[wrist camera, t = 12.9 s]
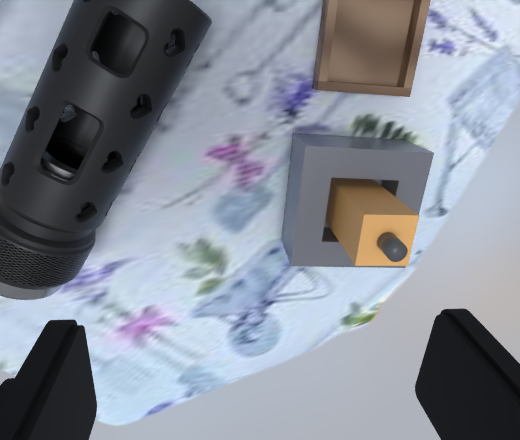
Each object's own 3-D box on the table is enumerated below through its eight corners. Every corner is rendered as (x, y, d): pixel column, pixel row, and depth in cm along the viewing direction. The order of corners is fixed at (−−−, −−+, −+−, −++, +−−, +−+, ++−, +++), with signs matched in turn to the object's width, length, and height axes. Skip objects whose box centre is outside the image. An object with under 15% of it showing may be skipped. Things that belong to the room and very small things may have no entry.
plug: (329, 177, 39) (373, 224, 28) (372, 178, 40) (432, 225, 29) (323, 218, 41) (363, 278, 30) (365, 219, 41) (419, 278, 30)
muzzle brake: (216, 27, 35) (216, 17, 26) (85, 263, 43) (48, 322, 33) (117, -43, 33) (76, -83, 23) (-4, 223, 40) (-71, 274, 31)
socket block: (293, 133, 40) (305, 145, 34) (404, 139, 41) (433, 152, 36) (281, 239, 44) (291, 266, 39) (382, 242, 46) (405, 267, 40)
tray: (325, -20, 35) (332, -24, 33) (422, -9, 36) (433, -12, 34) (312, 88, 38) (317, 89, 36) (400, 95, 39) (409, 96, 37)
